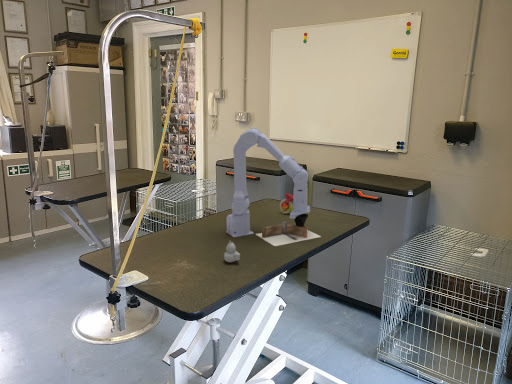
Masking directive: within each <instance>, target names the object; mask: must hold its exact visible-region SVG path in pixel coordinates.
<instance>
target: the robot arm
mask: <svg viewBox="0 0 512 384" xmlns="http://www.w3.org/2000/svg"><path fill="white" fill-rule="evenodd" d="M255 145H256V148H262V149H265V150H266V151H267V152H268V153H270V154H271V156H273V158H275V159H276V160H277V161H278V166H279V167H280V169H282V170H283V171H284V172H285V173H286V175H288V176H289V177H290V178H292V182H293V184H294V185H293V191H292V192H293V194H292V195H293V201H292V203H293V210H292V212H290V213H289V219H290V220H294V223H295V226H301V227H305V224H306V221H307V219H308V217H309V213H310V212H311V206H310V205H308V200H309V199H308V197H309V195H308V194H309V192H308V191H309V189H308V185H309V184H308V181H309V173H308V172H307V170H306V169H305V168H304V167H303V166H302V165H299V164H298V163H297V161H296V160H295V158H294V157H293V156H290V155H285V154H284V153H283V152H282V151H281V149H279V147H277V146H276V145H275V143H274V142H273V141H271V139H270V138H269V137H268V136H266V135H265V134H264V133H263V132H261V131H260V130H259V129H258V128H257V127H253V128H250V129H247V130H246V131H244V132H242V134H240V136H239V138H238V139H237V141H236V143H235V144H234V145H233V151H232V153H233V177H234V183H233V185H234V191H233V192H234V193H233V198H232V203H231V205H230V207H231V211H232V213H230V214H227V216H226V231H225V233H227V234H228V235H229V236H231V237H233V238H239V237H242V236H244V237H245V236H249V235H254V234H255V233H254V231H252V230H251V223H250V222H251V220H250V219H251V215H250V214H251V213H250V210H249V207H250V205H251V200H250V198H249V194H248V189H247V187H248V186H247V158H246V157H247V153H246V152H247V151H248V150H249V149H250V148H251V147H254V146H255Z"/></svg>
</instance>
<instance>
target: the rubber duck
mask: <svg viewBox="0 0 512 384" xmlns="http://www.w3.org/2000/svg"><path fill="white" fill-rule="evenodd" d="M236 248H237V247H236V245H235V243H234V242H233V241H231V240H229V242H228V243H227V245H226V246H225V250H226V251H225V252H224V253H223V257H224V261H225V262H227V263H234V262H237V261H240V257H241V253H239V252H238V250H237V249H236Z"/></svg>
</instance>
